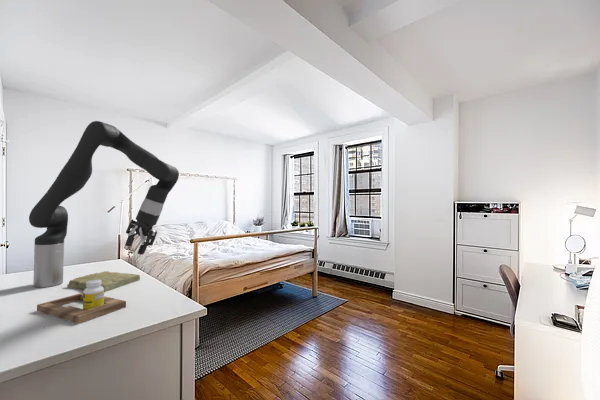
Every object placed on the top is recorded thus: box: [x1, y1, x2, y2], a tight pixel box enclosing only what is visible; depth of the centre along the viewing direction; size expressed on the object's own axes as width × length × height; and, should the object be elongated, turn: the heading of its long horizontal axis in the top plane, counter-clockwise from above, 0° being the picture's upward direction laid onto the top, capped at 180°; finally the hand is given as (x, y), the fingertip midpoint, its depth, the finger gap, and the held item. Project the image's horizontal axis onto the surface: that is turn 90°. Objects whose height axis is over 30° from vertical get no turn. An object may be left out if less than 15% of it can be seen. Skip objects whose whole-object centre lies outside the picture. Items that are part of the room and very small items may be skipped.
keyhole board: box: [36, 292, 127, 325], centre depth 90 cm, size 22×14×2 cm, turn 68°
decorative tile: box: [66, 270, 141, 293], centre depth 117 cm, size 19×20×4 cm
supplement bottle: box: [82, 280, 105, 310], centre depth 88 cm, size 5×5×10 cm
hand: (133, 249), depth 107 cm, fingers open, 8 cm apart
